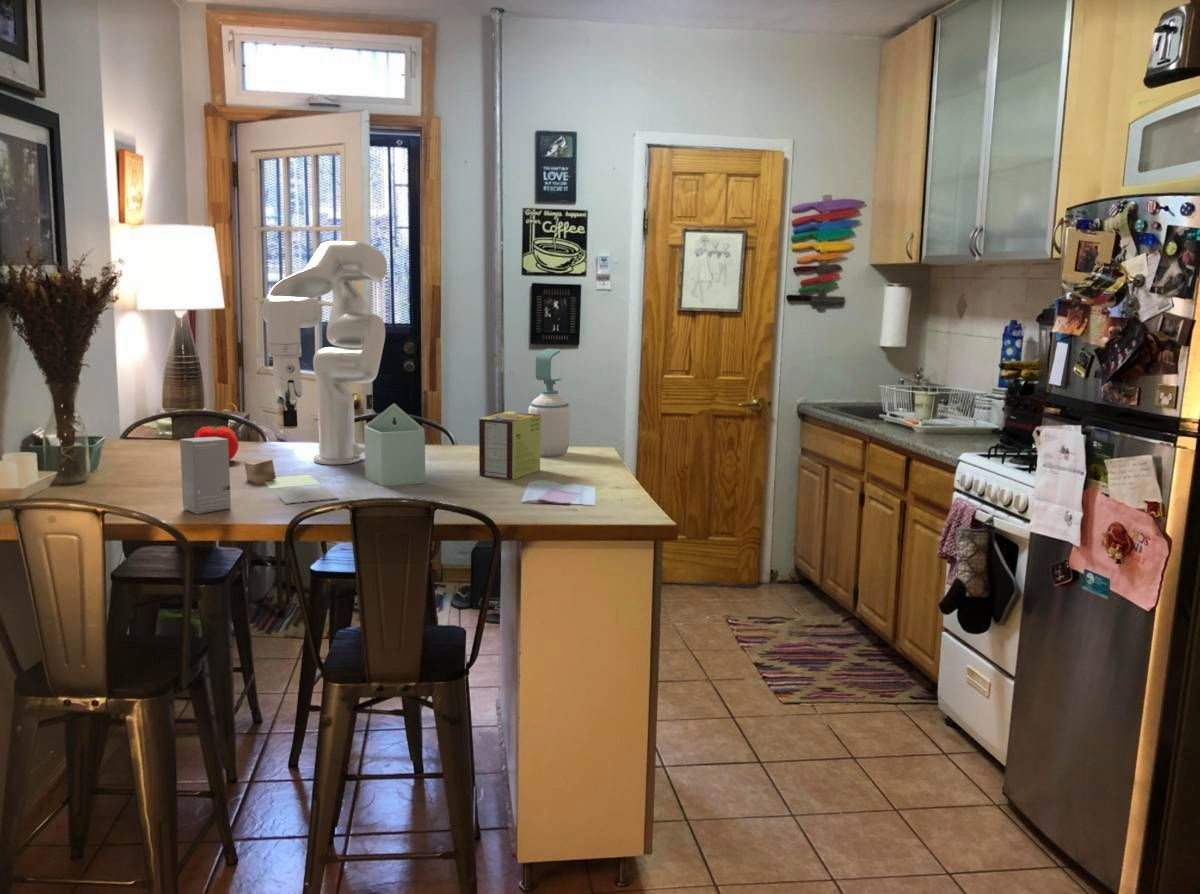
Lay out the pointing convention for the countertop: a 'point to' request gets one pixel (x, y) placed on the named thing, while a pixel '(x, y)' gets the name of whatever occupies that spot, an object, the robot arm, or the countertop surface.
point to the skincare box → (205, 474)
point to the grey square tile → (305, 495)
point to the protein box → (509, 445)
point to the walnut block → (260, 470)
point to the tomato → (220, 436)
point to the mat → (291, 481)
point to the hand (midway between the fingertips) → (288, 423)
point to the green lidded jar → (280, 413)
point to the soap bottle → (551, 409)
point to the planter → (394, 449)
